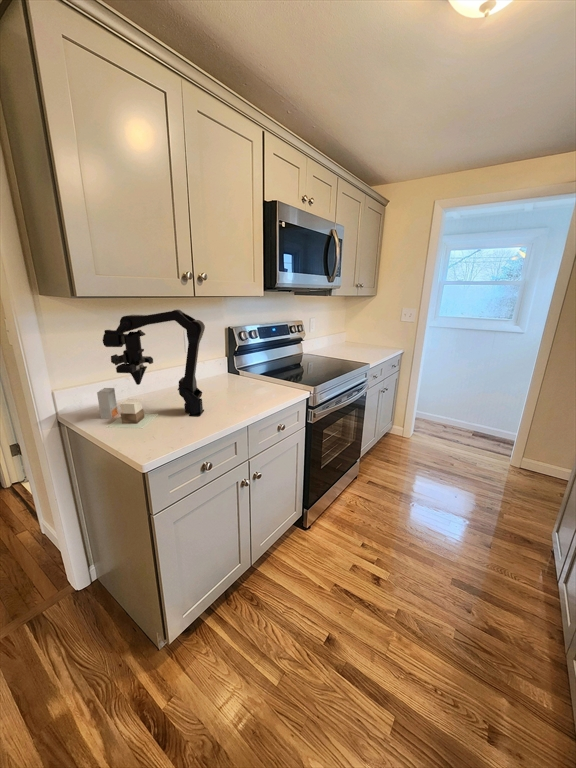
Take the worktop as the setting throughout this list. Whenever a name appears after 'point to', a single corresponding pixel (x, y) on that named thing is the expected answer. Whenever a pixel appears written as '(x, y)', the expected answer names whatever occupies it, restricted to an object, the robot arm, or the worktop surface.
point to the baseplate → (141, 424)
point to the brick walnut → (132, 417)
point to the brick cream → (131, 406)
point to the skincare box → (107, 403)
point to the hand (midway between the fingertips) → (138, 384)
